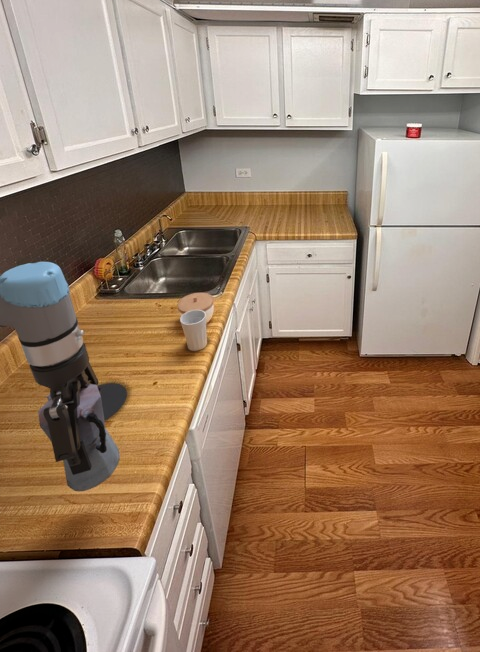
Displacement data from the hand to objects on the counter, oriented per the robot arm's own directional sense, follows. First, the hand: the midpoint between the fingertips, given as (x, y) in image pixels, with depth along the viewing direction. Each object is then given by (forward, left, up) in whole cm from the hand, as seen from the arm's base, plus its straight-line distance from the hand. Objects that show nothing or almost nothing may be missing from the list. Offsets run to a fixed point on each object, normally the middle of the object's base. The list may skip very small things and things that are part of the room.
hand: (89, 445), depth 63 cm
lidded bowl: (+19, +56, -17) cm, 62 cm away
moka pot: (0, 0, -7) cm, 7 cm away
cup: (+18, +43, -17) cm, 50 cm away
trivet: (-8, +27, -17) cm, 33 cm away
